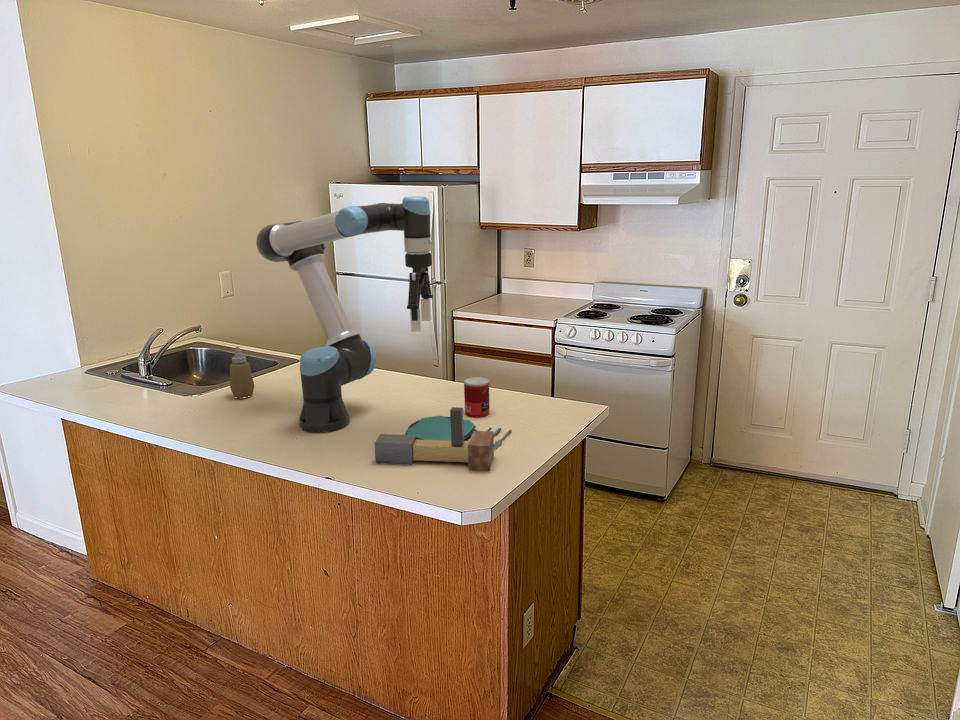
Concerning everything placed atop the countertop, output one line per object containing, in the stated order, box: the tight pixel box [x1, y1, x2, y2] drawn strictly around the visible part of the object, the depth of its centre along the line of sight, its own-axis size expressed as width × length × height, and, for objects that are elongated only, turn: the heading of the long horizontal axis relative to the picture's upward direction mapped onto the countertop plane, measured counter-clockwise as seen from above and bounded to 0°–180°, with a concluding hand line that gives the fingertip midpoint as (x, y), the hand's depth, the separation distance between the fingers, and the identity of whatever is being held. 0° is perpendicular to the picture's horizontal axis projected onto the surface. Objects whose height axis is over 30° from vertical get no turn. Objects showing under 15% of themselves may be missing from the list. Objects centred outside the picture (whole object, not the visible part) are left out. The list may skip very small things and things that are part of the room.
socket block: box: [467, 430, 495, 472], centre depth 182 cm, size 6×10×7 cm, turn 172°
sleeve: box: [374, 433, 416, 466], centre depth 185 cm, size 10×6×6 cm, turn 82°
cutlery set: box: [404, 415, 513, 452], centre depth 201 cm, size 20×30×2 cm, turn 67°
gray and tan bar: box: [412, 406, 470, 463], centre depth 182 cm, size 22×4×14 cm, turn 82°
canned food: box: [463, 377, 490, 418], centre depth 217 cm, size 8×8×11 cm
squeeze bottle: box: [229, 346, 255, 399], centre depth 237 cm, size 8×8×18 cm
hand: (421, 325), depth 199 cm, fingers open, 13 cm apart
